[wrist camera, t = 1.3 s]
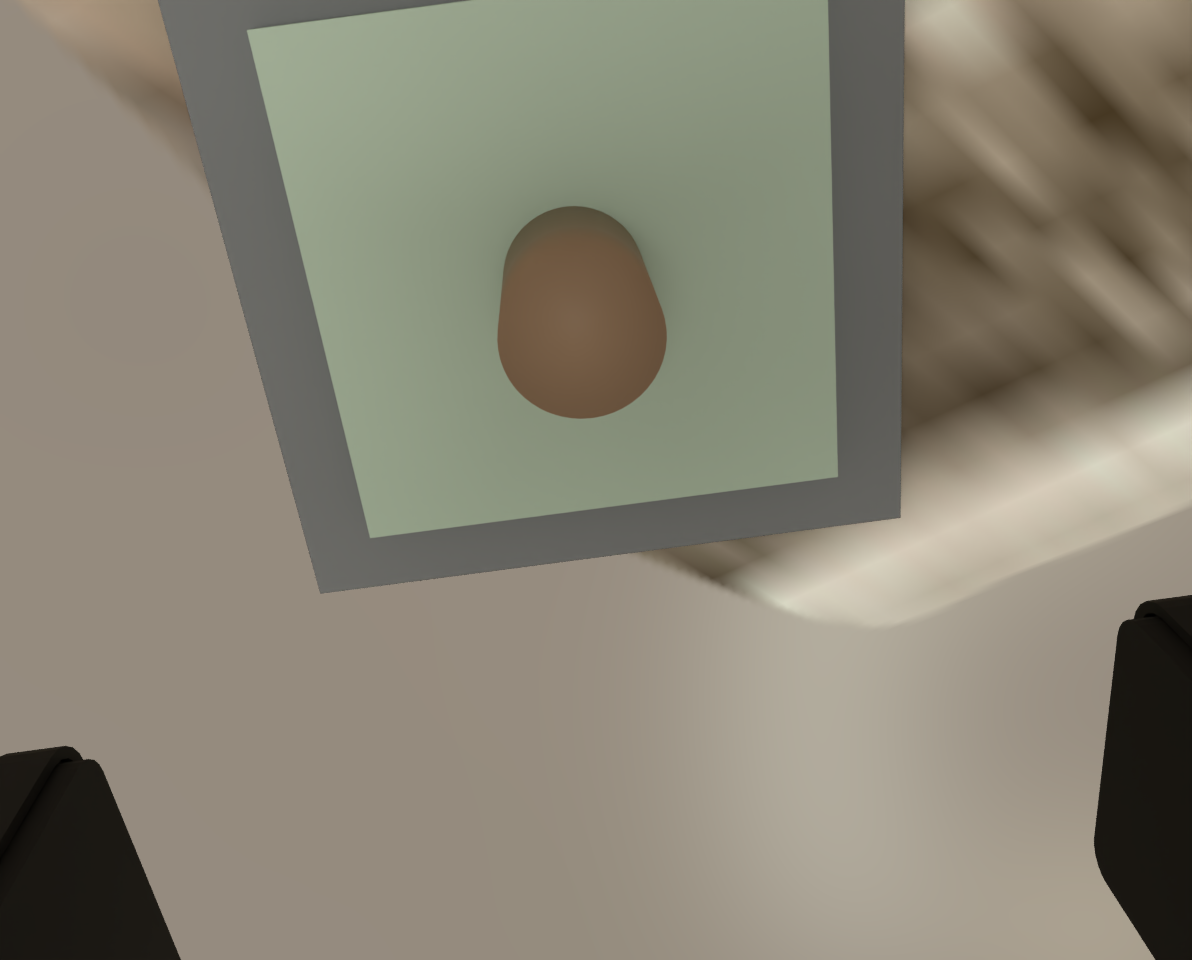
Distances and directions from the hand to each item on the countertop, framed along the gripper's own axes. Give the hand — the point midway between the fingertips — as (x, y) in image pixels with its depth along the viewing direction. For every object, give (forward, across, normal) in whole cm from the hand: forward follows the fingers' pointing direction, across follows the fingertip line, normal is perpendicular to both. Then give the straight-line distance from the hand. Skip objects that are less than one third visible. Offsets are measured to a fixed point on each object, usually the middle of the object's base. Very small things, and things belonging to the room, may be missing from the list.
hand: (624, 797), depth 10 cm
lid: (+19, 0, 0) cm, 19 cm away
